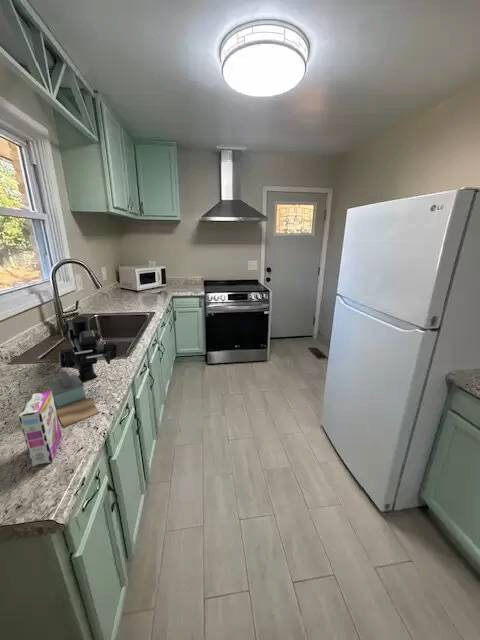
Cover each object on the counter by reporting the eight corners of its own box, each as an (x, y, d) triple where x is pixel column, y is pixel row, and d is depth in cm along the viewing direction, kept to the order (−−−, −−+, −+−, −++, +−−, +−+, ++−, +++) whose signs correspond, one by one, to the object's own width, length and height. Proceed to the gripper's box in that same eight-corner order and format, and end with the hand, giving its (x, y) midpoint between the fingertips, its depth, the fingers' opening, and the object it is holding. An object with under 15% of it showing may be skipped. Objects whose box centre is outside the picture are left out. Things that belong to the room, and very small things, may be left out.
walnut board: (55, 411, 95) (55, 410, 95) (89, 398, 103) (89, 397, 102) (63, 427, 87) (63, 426, 87) (99, 412, 94) (99, 411, 94)
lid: (49, 387, 102) (45, 374, 100) (76, 378, 108) (74, 366, 107) (55, 398, 95) (51, 385, 93) (84, 388, 101) (81, 375, 100)
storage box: (52, 397, 103) (49, 384, 102) (78, 388, 109) (75, 376, 108) (58, 408, 97) (54, 395, 95) (85, 398, 103) (83, 385, 101)
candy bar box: (53, 462, 74) (40, 412, 69) (32, 467, 72) (16, 416, 67) (63, 435, 84) (52, 389, 79) (44, 439, 82) (32, 393, 77)
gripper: (55, 330, 96) (63, 351, 86) (110, 323, 108) (123, 341, 98) (57, 356, 100) (64, 379, 90) (110, 347, 112) (122, 367, 102)
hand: (95, 365), depth 95 cm, fingers open, 9 cm apart
